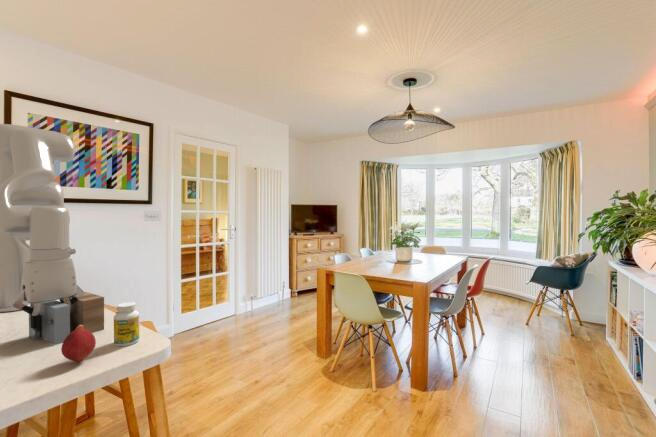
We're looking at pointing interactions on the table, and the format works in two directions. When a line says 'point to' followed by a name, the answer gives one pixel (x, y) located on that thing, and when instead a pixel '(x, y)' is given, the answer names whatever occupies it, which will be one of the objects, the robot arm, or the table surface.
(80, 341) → the onion
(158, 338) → the table surface
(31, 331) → the gray wooden bench
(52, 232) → the robot arm
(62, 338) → the pale blue tall prism
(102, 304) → the brown tall rectangular block
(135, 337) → the supplement bottle
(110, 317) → the table surface
